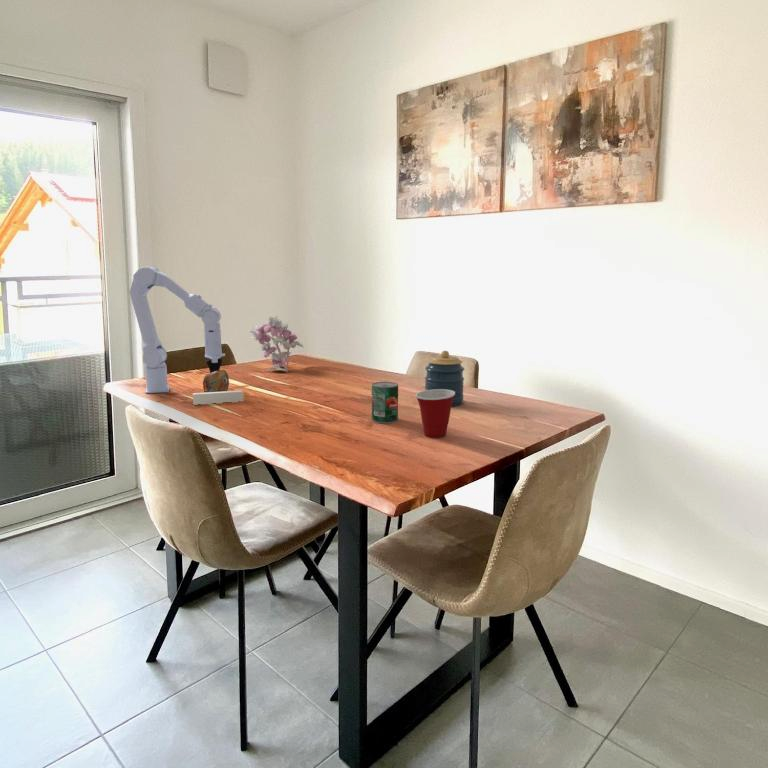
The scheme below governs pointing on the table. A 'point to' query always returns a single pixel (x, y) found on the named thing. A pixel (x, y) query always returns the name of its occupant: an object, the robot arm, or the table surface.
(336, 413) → the table surface
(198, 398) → the board
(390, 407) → the canned tomato
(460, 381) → the canister
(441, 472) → the table surface
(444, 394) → the plastic cup
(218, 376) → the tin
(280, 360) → the flower
